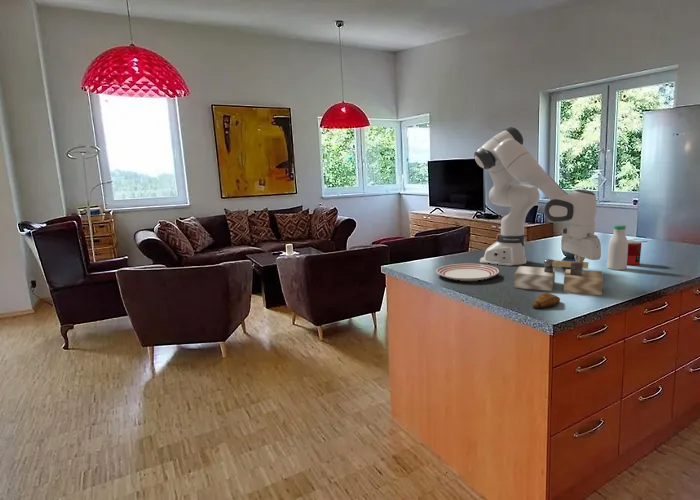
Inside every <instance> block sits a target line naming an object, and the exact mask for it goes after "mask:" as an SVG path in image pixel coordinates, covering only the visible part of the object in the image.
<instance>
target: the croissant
mask: <svg viewBox="0 0 700 500" xmlns="http://www.w3.org/2000/svg"><path fill="white" fill-rule="evenodd" d="M560 302H561V298H560V297H559V296H558V295H555V294H553V293H550V292H544V293H541V294H539V295H538V296H537V298H535V300H534V301H533V303H532V308H533V309H545V308H552V307H554V306H556V305H558V304H560Z"/></svg>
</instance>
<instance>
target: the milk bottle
mask: <svg viewBox="0 0 700 500" xmlns="http://www.w3.org/2000/svg"><path fill="white" fill-rule="evenodd" d="M626 227H627V226H626V225H625V224H615V225H613V234H612V235H611V237H610V239H609V243H608V247H607V249H608V250H607V261H606V262H607V263H606V266H607V267H606V268H607V269H609V270H614V271H615V270H617V271H624V270H625V271H626V269H627V267H628V265H627V255H628V241H627V240H628V239H627V236H626V233H625V231H626Z"/></svg>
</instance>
